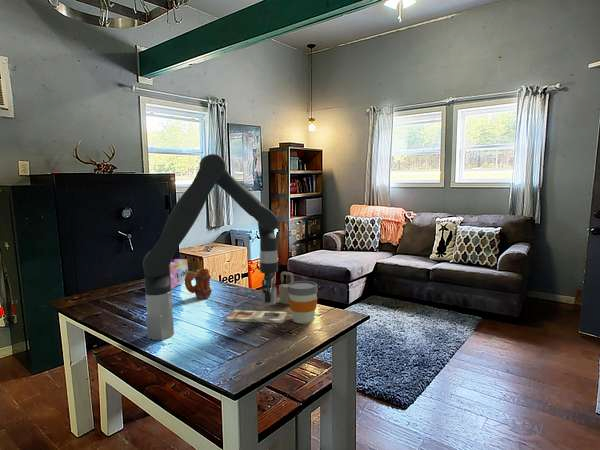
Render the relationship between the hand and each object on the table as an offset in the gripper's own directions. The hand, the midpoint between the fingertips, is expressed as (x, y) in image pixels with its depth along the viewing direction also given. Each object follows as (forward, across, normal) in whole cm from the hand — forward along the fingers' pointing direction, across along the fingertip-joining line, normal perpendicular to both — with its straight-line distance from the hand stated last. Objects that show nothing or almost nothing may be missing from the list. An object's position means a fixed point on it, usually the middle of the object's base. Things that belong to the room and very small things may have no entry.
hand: (269, 299), depth 160 cm
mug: (+9, +23, +42) cm, 49 cm away
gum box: (+9, +45, +68) cm, 82 cm away
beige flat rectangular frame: (+8, 0, +6) cm, 10 cm away
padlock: (+8, +21, -4) cm, 23 cm away
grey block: (+1, 0, 0) cm, 1 cm away
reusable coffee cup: (+8, 0, -14) cm, 17 cm away
